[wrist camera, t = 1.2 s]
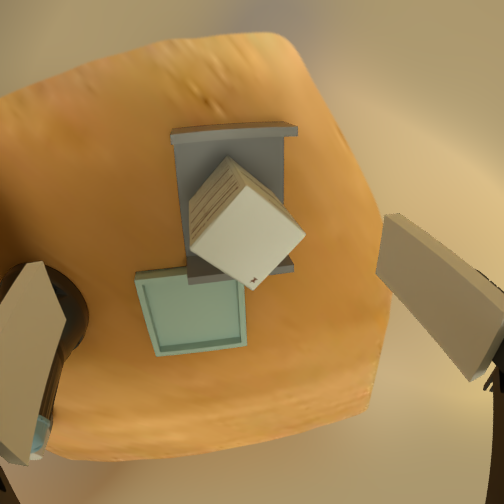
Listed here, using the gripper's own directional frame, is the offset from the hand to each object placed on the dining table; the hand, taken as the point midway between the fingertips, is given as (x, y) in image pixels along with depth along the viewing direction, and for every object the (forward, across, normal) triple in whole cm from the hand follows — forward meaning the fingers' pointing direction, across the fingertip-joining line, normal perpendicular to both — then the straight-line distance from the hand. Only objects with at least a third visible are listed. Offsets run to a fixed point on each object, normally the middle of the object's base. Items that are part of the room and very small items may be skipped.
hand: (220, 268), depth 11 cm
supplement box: (+26, +4, -6) cm, 28 cm away
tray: (+26, -2, -22) cm, 35 cm away
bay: (+26, +4, -6) cm, 27 cm away
